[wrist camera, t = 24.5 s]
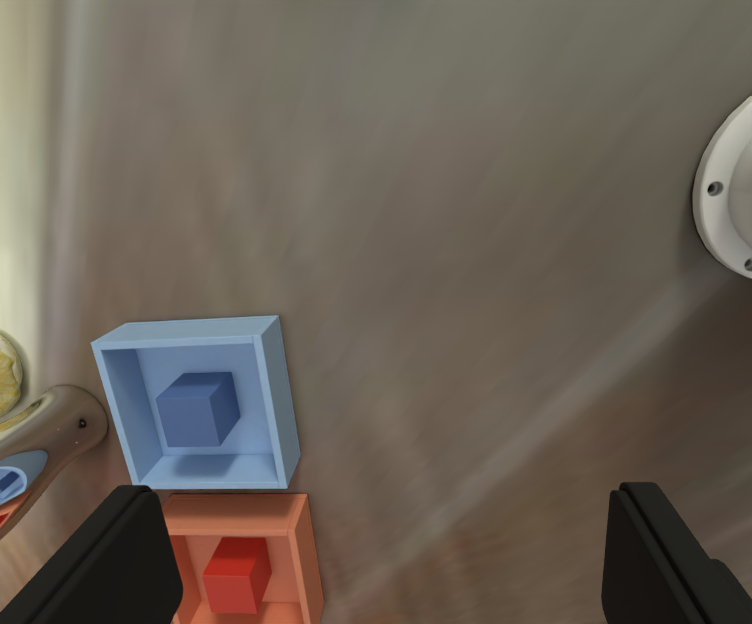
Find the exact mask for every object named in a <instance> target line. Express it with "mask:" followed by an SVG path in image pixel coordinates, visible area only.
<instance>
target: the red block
mask: <svg viewBox="0 0 752 624" xmlns="http://www.w3.org/2000/svg"><path fill="white" fill-rule="evenodd" d="M271 575H272V570H271V565H270V560H269V555H268V550H267V545H266V540H265V538H221V540H220V542H219V544H218V546H217V548H216V550H215V552H214V554H213V556H212V557H211V559H210V561H209V563H208V565H207V567H206V569H205V571H204V573H203V574H202V578H203V582H204V586H205V590H206V594H207V598H208V601H209V605H210V609H211V612H212V613H247V614H257V613H258V610H259V607H260V605H261V602H262V599H263V596H264V594H265V591H266V588H267V586H268V583H269V580H270V577H271Z"/></svg>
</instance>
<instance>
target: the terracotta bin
mask: <svg viewBox="0 0 752 624" xmlns="http://www.w3.org/2000/svg"><path fill="white" fill-rule="evenodd" d="M162 511H163V515H164V519H165V522H166V526H167V529H168V533H169V537H170V540H171V544H172V547H173V551H174V555H175V558H176V562H177V565H178V569H179V573H180V576H181V580H182V583H183V597H182V601H181V604H180V606H179V608H178V610H177V612H176V614H175V615H174V617H173V622H174V624H319V623H320V619H321V614H322V610H323V605H324V598H323V592H322V586H321V579H320V573H319V567H318V560H317V554H316V548H315V541H314V535H313V529H312V522H311V516H310V510H309V503H308V497H307V494H172V495H171V496H170V498H169V499H168V500H167V502H166V503H165V504H164V506H163V507H162ZM221 538H265V540H266V545H267V550H268V555H269V560H270V565H271V570H272V575H271V577H270V580H269V583H268V586H267V588H266V591H265V594H264V596H263V599H262V602H261V605H260V607H259V610H258V613H257V614H247V613H212V612H211V609H210V605H209V601H208V598H207V594H206V590H205V586H204V582H203V578H202V574H203V573H204V571H205V569H206V567H207V565H208V563H209V561H210V559H211V557H212V556H213V554H214V552H215V550H216V548H217V546H218V544H219V542H220V540H221Z"/></svg>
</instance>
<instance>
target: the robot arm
mask: <svg viewBox="0 0 752 624" xmlns="http://www.w3.org/2000/svg"><path fill="white" fill-rule="evenodd" d="M709 185H710V186H711V188H710V190H709V191H707V189H708V187H709ZM692 197H693V215H694V219H695V223H696V227H697V231H698V233H699V235H700V237H701V239H702V241H703V243H704V245H705V247H706V248H707V249H708V250H709V251H710V253H711V254H712V255H713V256H714V257H715V258H716V260H718V261H719V262H721V263H722V264H723V265H725V266H726V267H727V268H729V269H730V270H732V271H734V272H736V273H739V274H741V275H743V276H745V277H748V278H751V279H752V96H750V97H749V98H747V99H746V100H745V101H744V102H743V103H742V104H741V105H740V106H739V107H738V108H737V109H736V110H734V111H733V112H732V113H731V114H730V115H729V116H728V118H727V119H726V120H725V121H724V123H723V124H722V125H721V126H720V128H719V129H718V130H717V131H716V133H715V134H714V136H713V138H712V139H711V141H710V143H709V145H708V146H707V148H706V150H705V152H704V153H703V156H702V159H701V161H700V164H699V167H698V170H697V172H696V176H695V182H694V188H693V194H692ZM745 262H746V263H745ZM182 597H183V583H182V580H181V576H180V573H179V569H178V565H177V562H176V558H175V555H174V551H173V547H172V544H171V540H170V537H169V533H168V529H167V526H166V522H165V519H164V515H163V511H162V508H161V504H160V501H159V497H158V495H157V494H156V493H155V492H152V490H151V488H150V487H149V486H147V485H121V486H118V487H117V488H116V489H114V490H113V491H112V492H111V493H110V495H109V496H108V497H107V498H106V499H105V500H104V501H103V502H102V503H101V504H100V505H99V506H98V508H97V509H96V510H95V511H94V512H93V513H92V514H91V515H90V516H89V517H88V518H87V519H86V520H85V522H84V523H83V524H82V525H81V526H80V527H79V528H78V529H77V530H76V531H75V532H74V533H73V535H72V536H71V537H70V538H69V539H68V540H67V541H66V542H65V543H64V544H63V545H62V546H61V547H60V549H59V550H58V551H57V552H56V553H55V554H54V555H53V556H52V557H51V558H50V559H49V560H48V562H47V563H46V564H45V565H44V566H43V567H42V568H41V569H40V570H39V571H38V572H37V573H36V575H35V576H34V577H33V578H32V579H31V580H30V581H29V582H28V583H27V584H26V585H25V586H24V587H23V589H22V590H21V591H20V592H19V593H18V594H17V595H16V596H15V597H14V598H13V599H12V600H11V602H10V603H9V604H8V605H7V606H6V607H5V608H4V609H3V610H2V611H1V612H0V624H170V623H171V621H172V619H173V617H174V615H175V614H176V612H177V610H178V608H179V606H180V604H181V601H182ZM601 598H602V606H603V611H604V614H605V617H606V620H607V623H608V624H752V599H751V598H750V596H749V595H748V594H747V592H746V591H745V590H744V588H743V587H742V585H741V584H740V583H739V581H738V580H737V579H736V577H735V576H734V575H733V573H732V572H731V571H730V570H729V569H728V567H727V566H726V565H725V564H724V563H722V562H721V561H719V560H717V559H710V558H709V557H708V555H707V554H706V553H705V551H704V550H703V548H702V547H701V546H700V544H699V543H698V541H697V540H696V538H695V537H694V536H693V534H692V533H691V531H690V530H689V528H688V527H687V526H686V524H685V523H684V521H683V520H682V519H681V517H680V516H679V514H678V513H677V511H676V510H675V509H674V507H673V506H672V504H671V503H670V502H669V500H668V499H667V497H666V496H665V494H664V493H663V492H662V490H661V489H660V487H659V486H658V485H657V484H656V483H653V482H623V483H621V485H620V487H619V490H613V491H611V493H610V500H609V512H608V524H607V535H606V547H605V559H604V570H603V582H602V595H601Z"/></svg>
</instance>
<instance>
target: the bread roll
mask: <svg viewBox="0 0 752 624" xmlns="http://www.w3.org/2000/svg"><path fill="white" fill-rule="evenodd" d="M22 378H23V372H22V367H21V362H20V359H19V357H18V355H17V353H16V351H15V349H14V348H13V346H12V345H11V344H10V343H9V342H8V340H7V339H5V338H4V337H2V336H1V335H0V417H2V416H3V415H5V414H6V413H7V412H9V411H10V410H11V409H12V408H13V407H14V406H15V405H16V403H17V401H18V400H19V397H20V389H19V387H20V384H21V381H22Z"/></svg>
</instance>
